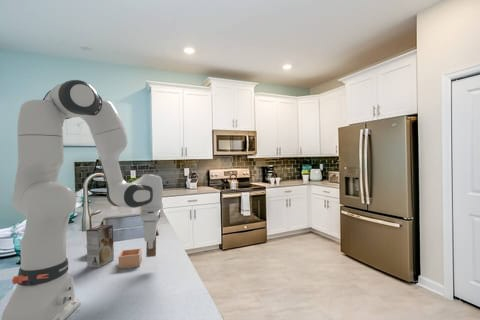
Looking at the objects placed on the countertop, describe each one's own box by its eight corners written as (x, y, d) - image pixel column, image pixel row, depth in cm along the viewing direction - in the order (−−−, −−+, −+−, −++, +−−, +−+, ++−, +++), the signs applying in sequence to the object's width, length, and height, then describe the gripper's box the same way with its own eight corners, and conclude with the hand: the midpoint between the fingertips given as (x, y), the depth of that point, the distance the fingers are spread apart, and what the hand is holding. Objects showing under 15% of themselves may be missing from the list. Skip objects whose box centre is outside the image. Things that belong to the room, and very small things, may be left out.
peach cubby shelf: (139, 266, 110) (139, 254, 110) (118, 268, 108) (118, 256, 108) (141, 259, 118) (141, 248, 118) (122, 261, 116) (122, 250, 116)
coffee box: (102, 258, 119) (101, 224, 119) (114, 259, 118) (113, 224, 118) (86, 267, 110) (85, 229, 110) (99, 268, 109) (98, 230, 109)
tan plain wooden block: (155, 256, 106) (155, 236, 106) (146, 257, 105) (146, 237, 105) (155, 253, 109) (156, 234, 109) (147, 254, 108) (147, 235, 108)
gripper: (146, 209, 117) (145, 240, 116) (140, 217, 97) (140, 254, 96) (160, 208, 118) (160, 239, 118) (158, 216, 99) (157, 253, 98)
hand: (151, 246), depth 107 cm, fingers closed on tan plain wooden block, 3 cm apart
